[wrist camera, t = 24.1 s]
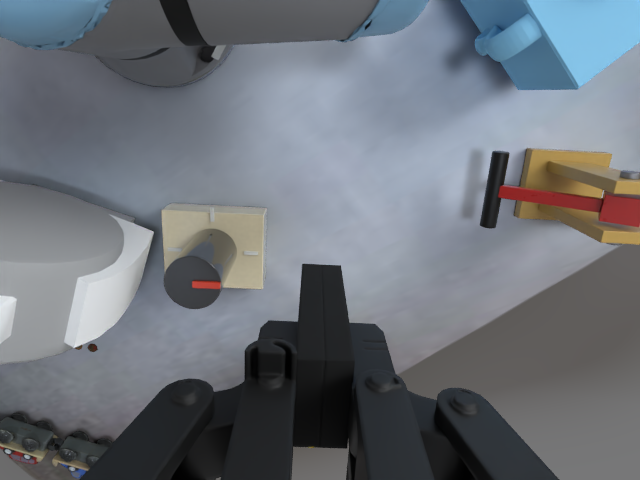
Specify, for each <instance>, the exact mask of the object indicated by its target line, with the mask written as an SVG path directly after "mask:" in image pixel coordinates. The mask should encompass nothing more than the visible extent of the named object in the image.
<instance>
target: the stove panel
mask: <svg viewBox="0 0 640 480" xmlns="http://www.w3.org/2000/svg"><path fill="white" fill-rule="evenodd" d="M161 216H162V233H163V251H164V268H165V271H166V269H167V268H168V266H169V265H170V264H171V263H172V261H173V260H174V259H175V258H176V257H177V256H178V254H179V253H180V252H181V251H182V250H183V248H184V247H185V246H186V245H187V244H188V242H189V241H190V240H191V239H192V238H193V237H194V235H195V234H197V233H198V232H200V231H202V230H205V229H218V230H221V231H223V232H225V233H227V234H228V235H229V236H230V237H231V238H232V239H233V241H234V243H235V245H236V248H237V257H236V260H235V263H234V265H233V267H232V269H231V271H230V273H229V275H228V278H227V280H226V282H225V284H224V286H223V288H244V289H263V286H264V282H265V278H266V225H267V208H261V207H241V206H221V205H201V204H181V203H170V204H169V205H167V206H166V207H165V208H163V209H162V210H161Z"/></svg>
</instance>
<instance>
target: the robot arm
mask: <svg viewBox="0 0 640 480" xmlns="http://www.w3.org/2000/svg"><path fill="white" fill-rule="evenodd" d="M428 1H429V0H0V37H2V38H6V39H8V40H9V41H13V42H15V43H17V44H18V45H20V46H23V47H31V48H33V49H36V50H52V49H59V50H65V51H71V52H77V53H83V54H89V55H94V56H95V57H96V58H97V59H99V60H100V61H101V62H102V63H103V64H104V65H106V66H107V67H108V68H110V69H111V70H113V71H114V72H116V73H118V74H120V75H122V76H124V77H126V78H128V79H130V80H132V81H135V82H138V83H141V84H145V85H150V86H157V87H176V86H182V85H187V84H190V83H193V82H196V81H198V80H200V79H202V78H204V77H206V76H207V75H209V74H210V73H211V72H213V71H214V70H215V69H216V68H217V67H219V66H220V65H221V63H222V62H223V61H224V60H225V59H226V57H227V56H228V55H229V53H230V52H231V50H232V48H233V46H234V45H239V44H260V43H281V42H302V41H323V40H336V41H338V42H347V41H353V40H355V39H356V38H358V37H365V36H375V35H385V34H392V33H395V32H397V31H399V30H402V29H404V28H405V27H407V26H408V25H410V24H411V23H412V22H413V21H414V20H415V19H416V18H417V17H418V16H419V15H420V13H421V12H422V11H423V9H424V8H425V6H426V5H427V3H428ZM348 439H349V454H348V465H347V476H346V480H559V479H558V478H557V477H556V476H555V475H554V473H553V472H552V471H551V470H550V469H549V468H548V467H547V466H546V465H545V464H544V462H543V461H542V460H541V459H540V458H539V457H538V456H537V455H536V454H535V453H534V452H533V451H532V449H531V448H530V447H529V446H528V445H527V444H526V443H525V442H524V441H523V439H521V437H520V436H519V435H518V434H517V433H516V432H515V431H514V430H513V428H512V427H511V426H510V425H509V424H508V423H507V422H506V421H505V420H504V419H503V418H502V417H501V415H500V414H499V413H498V412H497V411H496V410H495V409H494V408H493V407H492V405H491V404H490V403H489V402H488V401H487V400H486V399H484V398H483V397H482V396H481V395H479V394H476V393H475V392H472V391H470V390H466V389H462V388H448V389H445V390H443V391H441V392H440V393H439V394H438V397H437V400H434V399H430V398H426V397H422V396H419V395H416V394H414V393H412V392H410V391H408V390H407V388H406V385H405V383H404V381H403V380H402V379H401V378H400V377H399V376H397V375H396V374H395V371H394V368H393V364H392V361H391V357H390V354H389V350H388V347H387V343H386V340H385V336H384V333H383V331H382V330H381V329H380V328H379V327H377V326H376V325H375V324H363V323H349V318H348V311H347V304H346V298H345V291H344V284H343V278H342V271H341V266H337V265H315V264H302V276H301V290H300V304H299V318H298V322H291V321H268V322H267V323H266V324H264V325H263V326H262V327H261V329H260V333H259V338H258V341H255V342H253V343H252V344H250V345H248V347H247V348H246V350H245V380H244V382H243V383H242V384H240V385H239V386H236V387H234V388H231V389H228V390H223V391H218V392H214V391H213V387H212V386H211V385H210V384H209V383H207V382H205V381H202V380H199V379H184V380H178V381H176V382H173V383H171V384H169V385H167V386H166V387H165V388H163V389H162V390H161V391H160V392H159V393H158V394H157V395H156V397H155V398H154V399H153V400H152V401H151V402H150V403H149V404H148V405H147V406H146V407H145V409H144V410H143V411H142V412H141V413H140V414H139V415H138V416H137V417H136V418H135V419H134V421H133V422H132V423H131V424H130V425H129V426H128V427H127V428H126V429H125V430H124V431H123V433H122V434H121V435H120V436H119V437H118V438H117V439H116V440H115V441H114V442H113V443H112V445H111V446H110V447H109V448H108V449H107V450H106V451H105V452H104V453H103V454H102V455H101V457H100V458H99V459H98V460H97V461H96V462H95V463H94V464H93V465H92V466H91V467H90V469H89V470H88V471H87V472H86V473H85V474H84V475H83V476H82V477H81V478H80V479H79V480H216V478H219V477H221V480H291V476H292V458H293V446H294V447H322V448H347V443H348Z"/></svg>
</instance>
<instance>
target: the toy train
mask: <svg viewBox="0 0 640 480" xmlns="http://www.w3.org/2000/svg"><path fill="white" fill-rule="evenodd" d="M53 434H54V433H53V432H52V427H51V425H50V424H49V423H47V422H45V421H41V422H38V423H37V424H36V426H33V425H30V424H27V418H26V417H25V416H24V415H22V414H20V413H14V414H13V415H12V416H11V418H9V417H5V418H4V419H3V420H2V421H1V422H0V448H1V449H3V452H4V453H5V454H7V455H9V457H10V458H11V459H14V460H17V461H20V462H24V463H29V464H37V463H38V462H40V461H42V459H43V458H44V457H45V456H46V454H47V453H48V452H49V450H51V451H53V450H58V452H57V454H56V455H55V457H54V458H53V461H52V464H53V465H54V466H57V465H58V463H61V465H63V466H64V467H66V468H68V470H69V471H70V472H71V474H72V476H73V477H76V478H81V476H82V475H84V474H85V473H86V472H87V471H88V470H89V469H90V467H91V466H92V465H93V464H94V463H95V462H96V461H97V460H98V459H99V458H100V457H101V455H102V454H103V453H104V452H105V451H106V450H107V449H108V448H109V447H110V446H111V445H112V442H111V441H110V440H108V439H105V438H103V439H99V440H98V442H97V443H98V444H95V443H91V442H88V436H87V435H86V434H85V433H83V432H80V431H78V432H75V433H73V437H70V436H68V437H67V438H66V440H65V441H63V439H61V438H58V436H55V435H53ZM54 444H55V445H54ZM53 445H54V446H53Z"/></svg>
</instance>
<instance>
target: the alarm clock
mask: <svg viewBox="0 0 640 480" xmlns="http://www.w3.org/2000/svg"><path fill="white" fill-rule="evenodd" d="M134 221H135V218H133V217H130V216H127V215H124V214H121V213H118V212H115V211H112V210H109V209H106V208H103V207H100V206H97V205H94V204H91V203H89V202H86V201H83V200H81V199H78V198H76V197H73V196H71V195H68V194H64V193H61V192H57V191H54V190H50V189H47V188H43V187H40V186H37V185H34V184H33V185H27V184H22V183H14V182H6V181H2V180H0V365H1V364H11V363H21V362H31V361H35V360H39V359H43V358H47V357H51V356H55V355H59V354H61V353H63V352H65V351H68V350H70V349H72V348H75V347H78V346H80V345H82V344H85V343H87V342H89V341H91V340H94V339H96V338H98V337H100V336H101V335H102V334H103V333H105V332H106V331H107V330H108V329H110V328H111V327H112V326H113V325H115V324H116V323H117V321H118V320H119V319H120V318H121V316H122V315H123V314H124V312H125V311H126V310H127V308H128V306H129V305H130V303H131V301H132V300H133V298H134V297H135V295H136V292H137V290H138V287H139V285H140V282H141V280H142V276H143V272H144V268H145V264H146V261H147V257H148V253H149V249H150V245H151V242H152V238H153V234H154V232H153V231H151V230H148V229H146V228H144V227H141V226H139V225H136V224H134Z"/></svg>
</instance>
